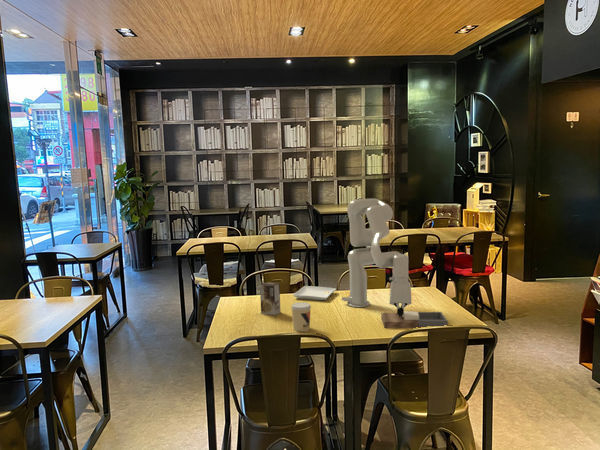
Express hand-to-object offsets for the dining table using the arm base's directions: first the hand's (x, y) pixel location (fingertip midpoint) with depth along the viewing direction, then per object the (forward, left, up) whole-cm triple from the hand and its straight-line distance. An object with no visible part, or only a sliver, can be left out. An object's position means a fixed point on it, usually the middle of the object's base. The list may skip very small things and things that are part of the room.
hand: (400, 315), depth 236 cm
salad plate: (-44, +50, -4) cm, 67 cm away
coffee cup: (-49, -8, -4) cm, 49 cm away
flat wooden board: (-1, 0, -4) cm, 4 cm away
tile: (+5, 0, -1) cm, 5 cm away
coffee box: (-67, +17, -4) cm, 69 cm away
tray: (+15, 0, -4) cm, 15 cm away
